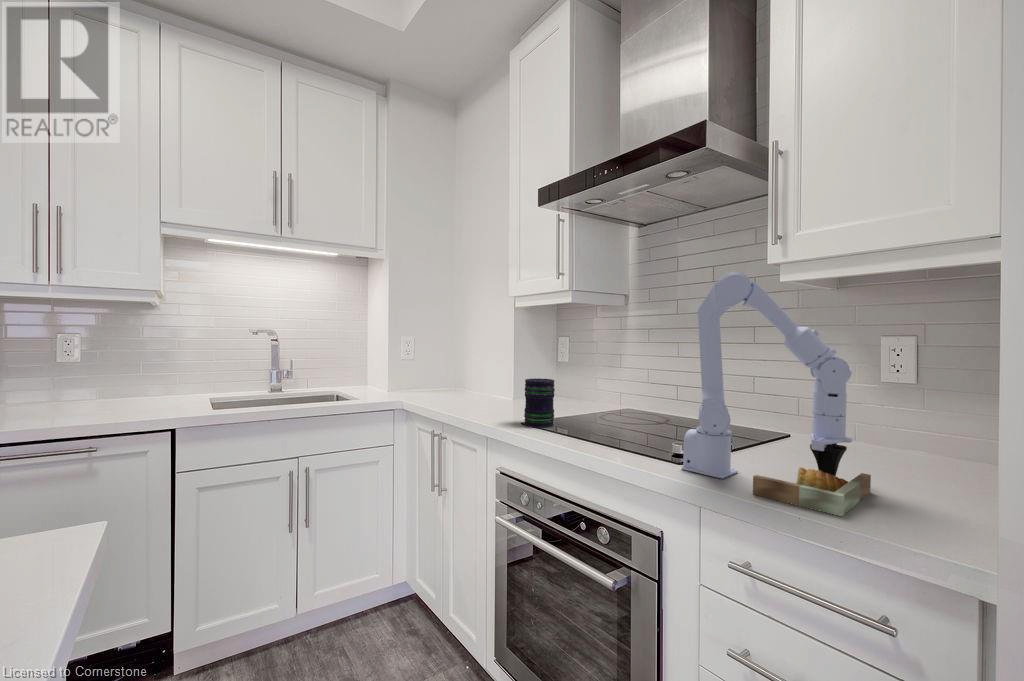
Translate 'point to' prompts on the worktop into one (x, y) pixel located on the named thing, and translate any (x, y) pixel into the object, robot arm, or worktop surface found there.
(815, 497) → the two-tone corner bracket
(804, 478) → the pastry
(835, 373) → the robot arm
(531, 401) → the storage jar
